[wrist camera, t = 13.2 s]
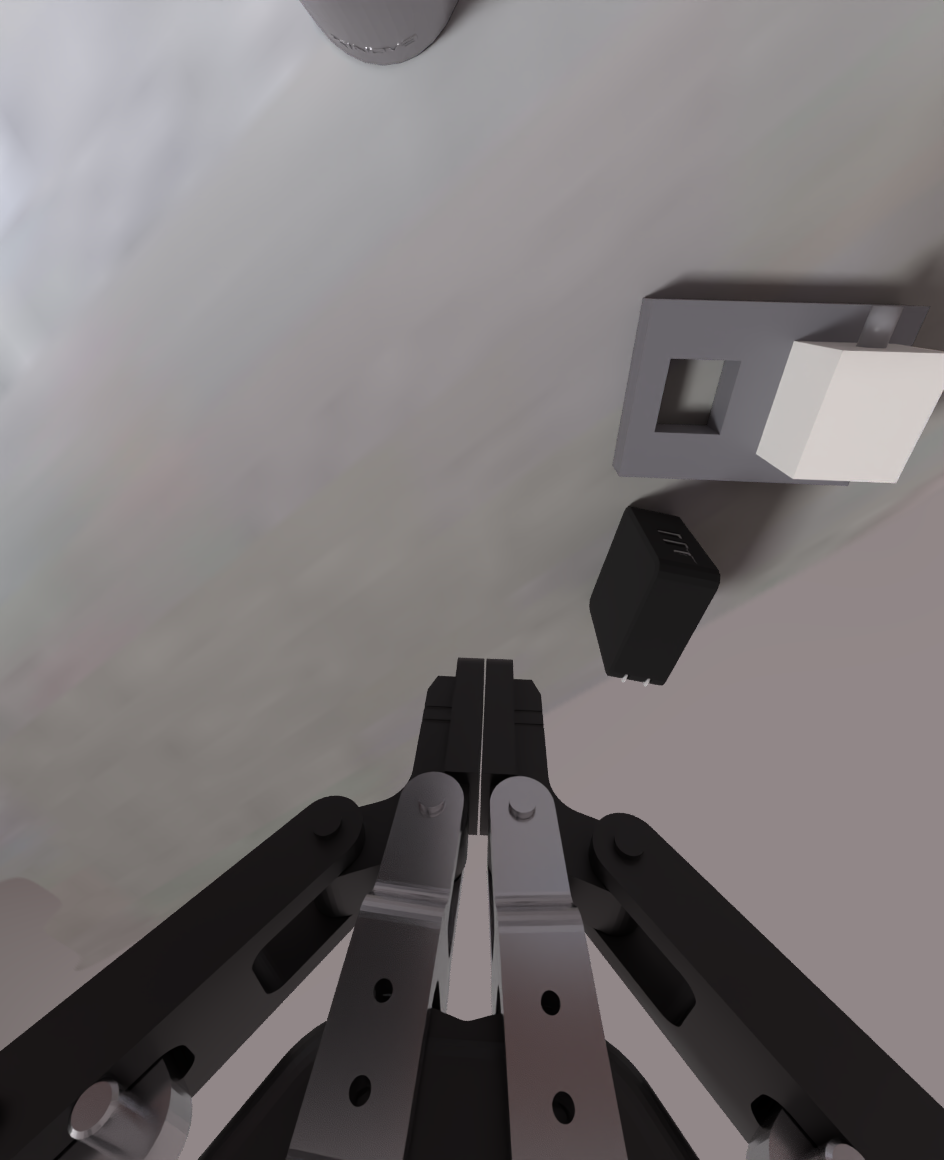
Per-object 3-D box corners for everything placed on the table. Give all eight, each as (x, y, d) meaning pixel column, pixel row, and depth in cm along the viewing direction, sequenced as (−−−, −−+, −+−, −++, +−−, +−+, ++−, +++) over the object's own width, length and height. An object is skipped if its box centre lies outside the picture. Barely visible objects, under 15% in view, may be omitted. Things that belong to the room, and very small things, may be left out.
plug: (789, 302, 30) (859, 306, 24) (888, 304, 30) (984, 309, 24) (743, 445, 35) (792, 478, 29) (828, 448, 34) (896, 483, 28)
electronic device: (676, 512, 38) (725, 577, 30) (631, 612, 43) (661, 691, 35) (626, 502, 38) (660, 564, 30) (587, 603, 43) (606, 680, 35)
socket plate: (642, 298, 31) (653, 299, 29) (900, 304, 30) (930, 306, 28) (612, 465, 36) (618, 476, 34) (827, 473, 36) (847, 485, 34)
